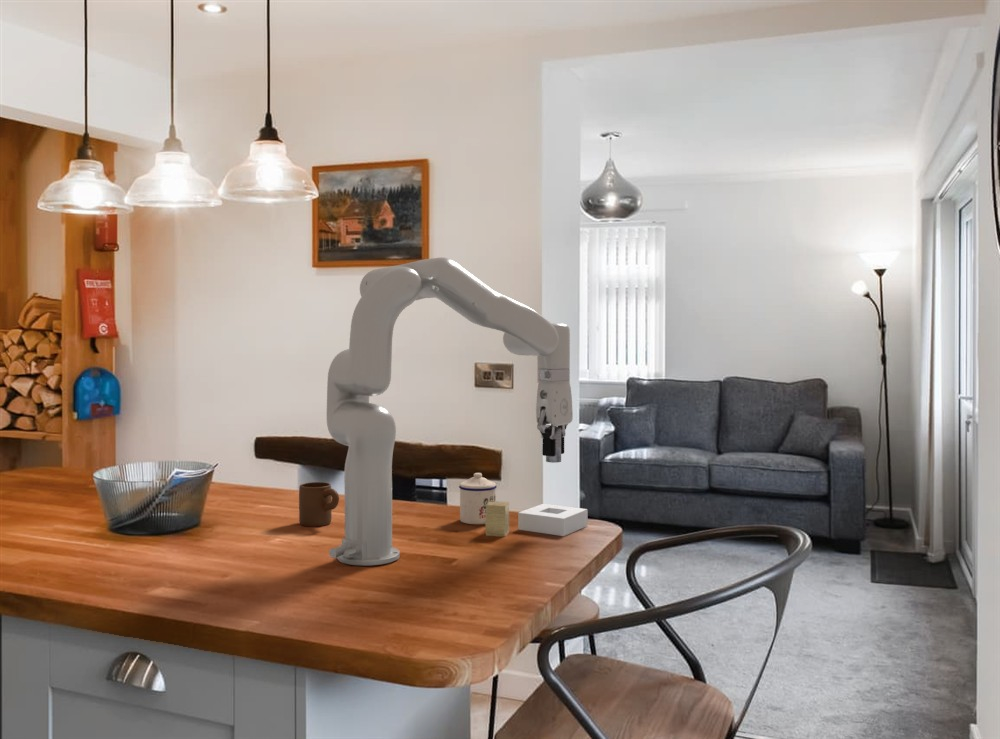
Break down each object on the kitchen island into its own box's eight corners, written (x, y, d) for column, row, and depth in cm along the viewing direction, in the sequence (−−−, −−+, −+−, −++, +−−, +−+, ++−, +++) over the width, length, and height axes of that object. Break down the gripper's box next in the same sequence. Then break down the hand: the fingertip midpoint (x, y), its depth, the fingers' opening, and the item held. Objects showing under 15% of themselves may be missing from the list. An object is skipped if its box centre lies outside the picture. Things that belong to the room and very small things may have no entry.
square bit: (505, 536, 195) (505, 505, 195) (485, 535, 196) (485, 505, 196) (508, 532, 200) (509, 501, 199) (489, 531, 201) (490, 501, 200)
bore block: (564, 536, 196) (564, 518, 196) (518, 529, 202) (518, 512, 202) (587, 525, 206) (587, 509, 206) (543, 519, 212) (543, 503, 212)
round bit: (556, 463, 201) (556, 428, 200) (543, 461, 202) (543, 427, 202) (563, 460, 204) (563, 427, 203) (550, 459, 205) (550, 426, 205)
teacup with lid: (484, 526, 205) (484, 477, 204) (451, 522, 209) (451, 474, 209) (508, 517, 215) (509, 470, 215) (477, 513, 220) (477, 467, 219)
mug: (350, 525, 205) (350, 486, 205) (324, 531, 200) (324, 491, 199) (318, 518, 213) (317, 480, 213) (292, 524, 207) (292, 485, 207)
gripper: (550, 378, 193) (550, 460, 194) (583, 375, 207) (583, 451, 208) (521, 377, 197) (521, 458, 198) (556, 374, 211) (556, 449, 212)
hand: (553, 453), depth 203 cm, fingers closed on round bit, 3 cm apart
